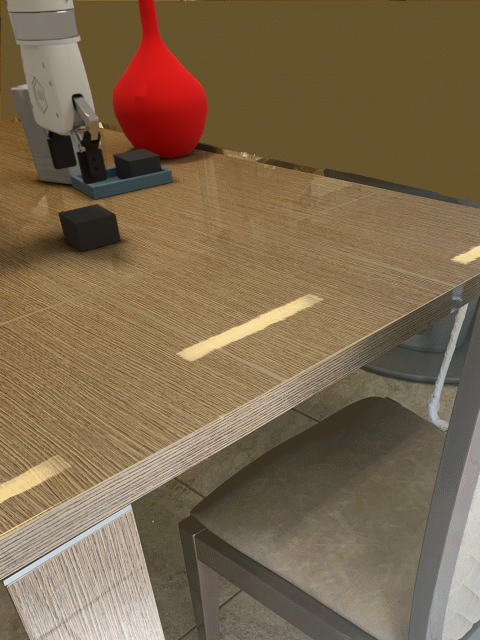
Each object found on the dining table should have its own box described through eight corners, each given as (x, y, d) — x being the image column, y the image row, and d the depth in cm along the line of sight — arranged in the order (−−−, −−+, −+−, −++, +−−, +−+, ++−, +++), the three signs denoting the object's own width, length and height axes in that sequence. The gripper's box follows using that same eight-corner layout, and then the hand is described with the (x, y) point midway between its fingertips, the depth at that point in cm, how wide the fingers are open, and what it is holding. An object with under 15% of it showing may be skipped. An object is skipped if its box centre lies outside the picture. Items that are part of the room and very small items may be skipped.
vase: (106, 151, 133) (71, -24, 115) (181, 137, 143) (161, -27, 125) (150, 170, 122) (120, -20, 104) (229, 153, 132) (214, -24, 114)
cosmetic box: (96, 176, 119) (76, 81, 109) (69, 187, 114) (46, 88, 104) (61, 171, 122) (39, 77, 112) (33, 181, 117) (7, 84, 107)
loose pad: (82, 251, 90) (75, 223, 88) (64, 239, 94) (57, 212, 92) (121, 241, 93) (115, 214, 91) (102, 230, 97) (97, 203, 95)
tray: (95, 199, 109) (92, 187, 107) (72, 187, 114) (70, 175, 113) (173, 181, 116) (171, 170, 115) (148, 171, 122) (146, 160, 121)
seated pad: (132, 184, 113) (128, 161, 111) (117, 177, 117) (112, 154, 115) (162, 178, 116) (159, 155, 114) (146, 171, 120) (143, 148, 118)
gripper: (-10, 26, 81) (30, 167, 91) (43, 36, 70) (81, 194, 81) (48, 21, 85) (80, 157, 95) (106, 30, 74) (135, 182, 85)
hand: (80, 174), depth 88 cm, fingers open, 9 cm apart
